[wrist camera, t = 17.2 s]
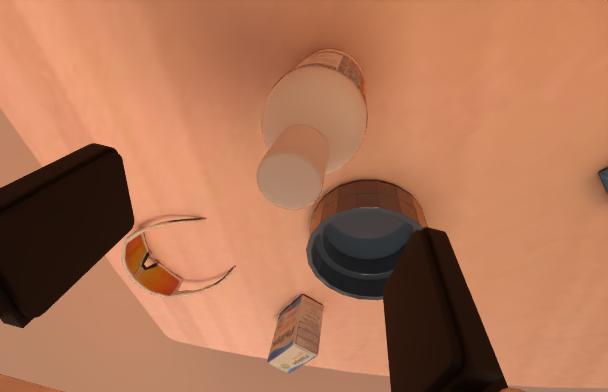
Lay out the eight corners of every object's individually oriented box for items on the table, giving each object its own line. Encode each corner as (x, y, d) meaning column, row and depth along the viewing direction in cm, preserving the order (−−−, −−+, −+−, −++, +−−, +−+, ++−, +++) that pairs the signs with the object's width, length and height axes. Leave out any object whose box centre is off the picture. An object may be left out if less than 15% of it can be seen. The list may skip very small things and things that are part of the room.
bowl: (304, 250, 41) (297, 282, 36) (327, 166, 33) (321, 192, 28) (399, 275, 41) (404, 311, 36) (444, 196, 33) (460, 228, 28)
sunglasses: (121, 226, 45) (100, 246, 40) (203, 199, 42) (190, 218, 38) (170, 286, 51) (157, 309, 47) (244, 266, 48) (238, 289, 44)
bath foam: (352, 127, 30) (343, 261, 14) (290, 110, 31) (208, 222, 14) (374, 58, 27) (400, 128, 10) (304, 40, 27) (213, 78, 10)
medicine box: (302, 292, 46) (292, 343, 39) (324, 305, 47) (318, 357, 40) (279, 313, 51) (265, 363, 43) (299, 325, 51) (289, 375, 44)
